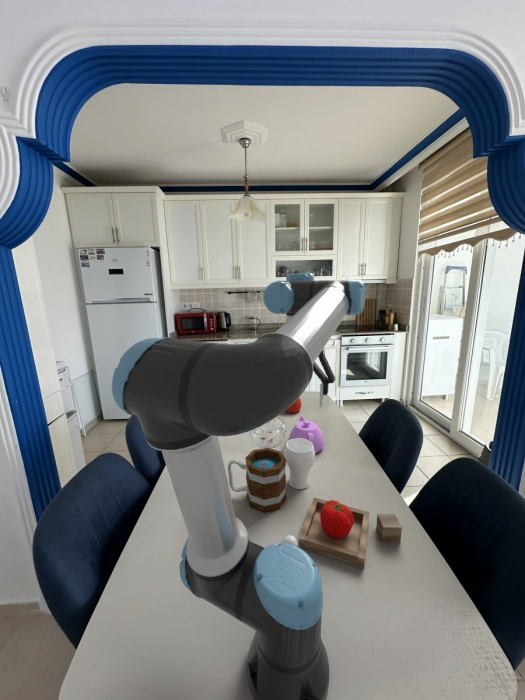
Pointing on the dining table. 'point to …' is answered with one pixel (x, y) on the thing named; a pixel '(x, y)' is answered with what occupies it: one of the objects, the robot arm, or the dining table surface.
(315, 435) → the teapot
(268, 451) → the mug
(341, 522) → the tomato
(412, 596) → the dining table surface
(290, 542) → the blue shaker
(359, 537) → the tray
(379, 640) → the dining table surface
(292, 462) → the cup
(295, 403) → the apple
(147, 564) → the dining table surface
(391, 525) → the walnut block
